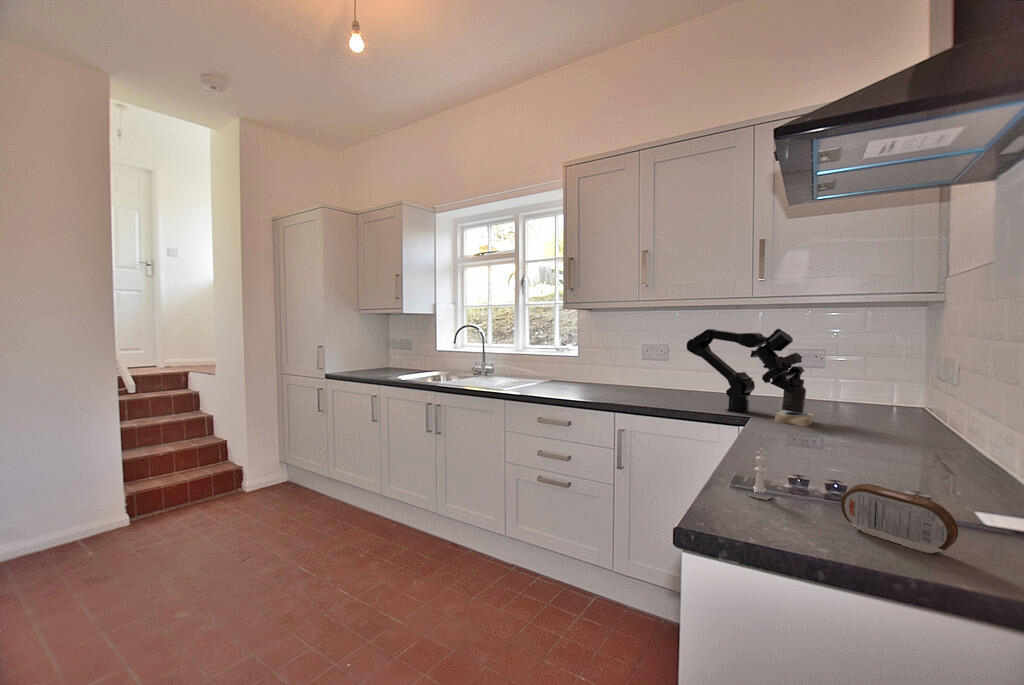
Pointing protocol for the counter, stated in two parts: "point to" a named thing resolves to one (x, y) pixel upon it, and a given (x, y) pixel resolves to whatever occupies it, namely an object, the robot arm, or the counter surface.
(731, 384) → the robot arm
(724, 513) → the counter surface
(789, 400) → the supplement bottle
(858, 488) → the tin
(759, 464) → the chess piece
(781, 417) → the birch plinth
